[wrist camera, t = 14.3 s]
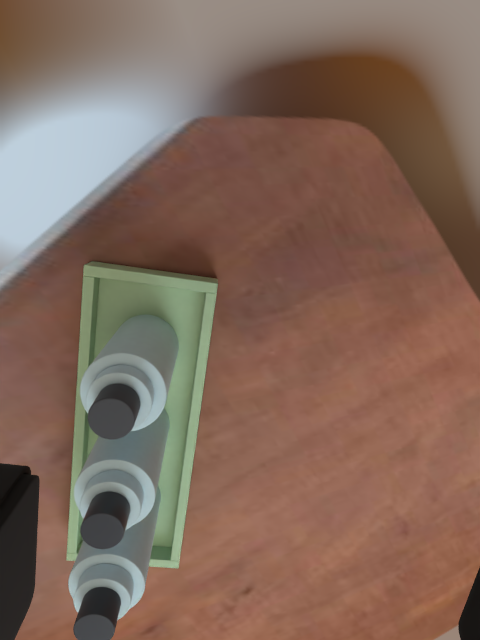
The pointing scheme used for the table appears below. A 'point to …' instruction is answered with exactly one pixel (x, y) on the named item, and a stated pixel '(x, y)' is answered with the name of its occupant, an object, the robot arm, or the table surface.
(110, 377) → the loose bottle
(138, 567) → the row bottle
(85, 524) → the row bottle middle
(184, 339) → the tray
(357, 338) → the table surface
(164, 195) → the table surface
